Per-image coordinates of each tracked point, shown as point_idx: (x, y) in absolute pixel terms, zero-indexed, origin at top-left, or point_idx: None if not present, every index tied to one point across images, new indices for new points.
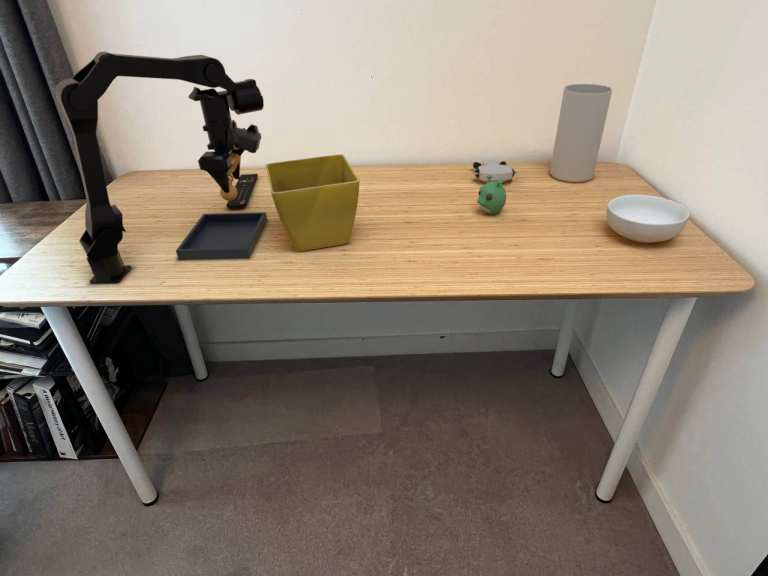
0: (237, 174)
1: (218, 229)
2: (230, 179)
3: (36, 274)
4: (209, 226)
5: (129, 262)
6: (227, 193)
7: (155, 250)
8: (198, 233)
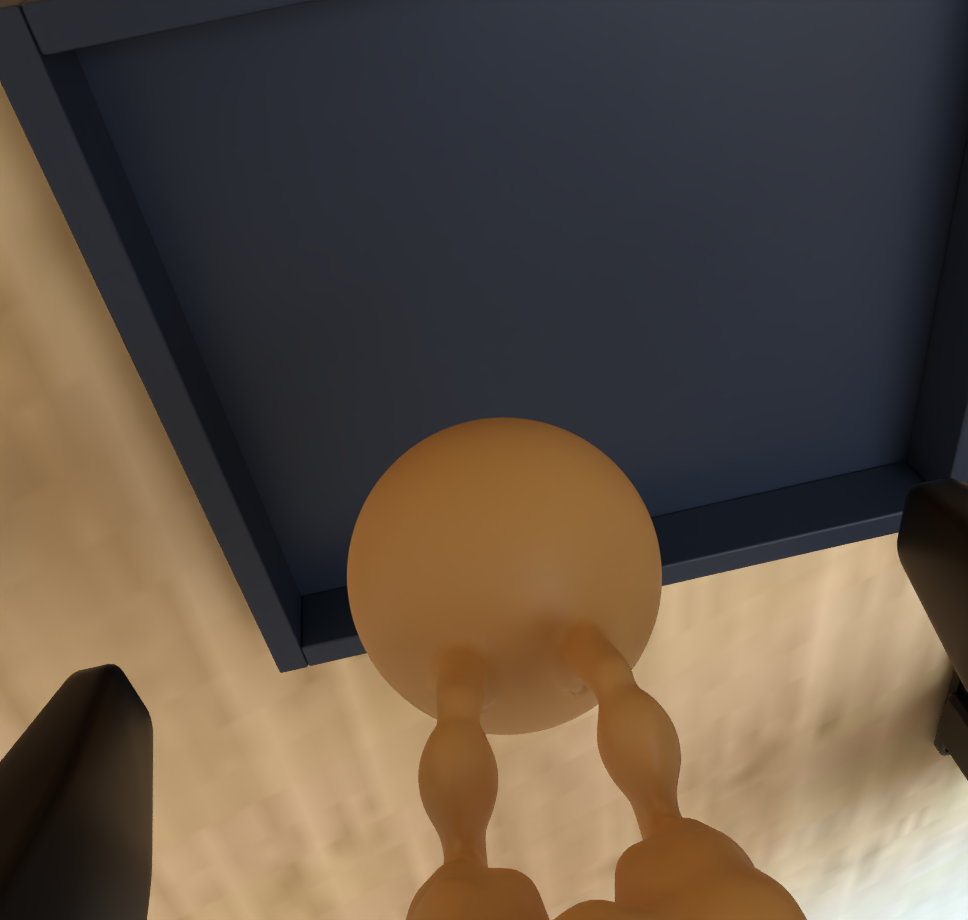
0: (94, 771)
1: None
2: (662, 721)
3: (919, 897)
4: None
5: (885, 689)
6: (658, 548)
7: (751, 656)
8: None
